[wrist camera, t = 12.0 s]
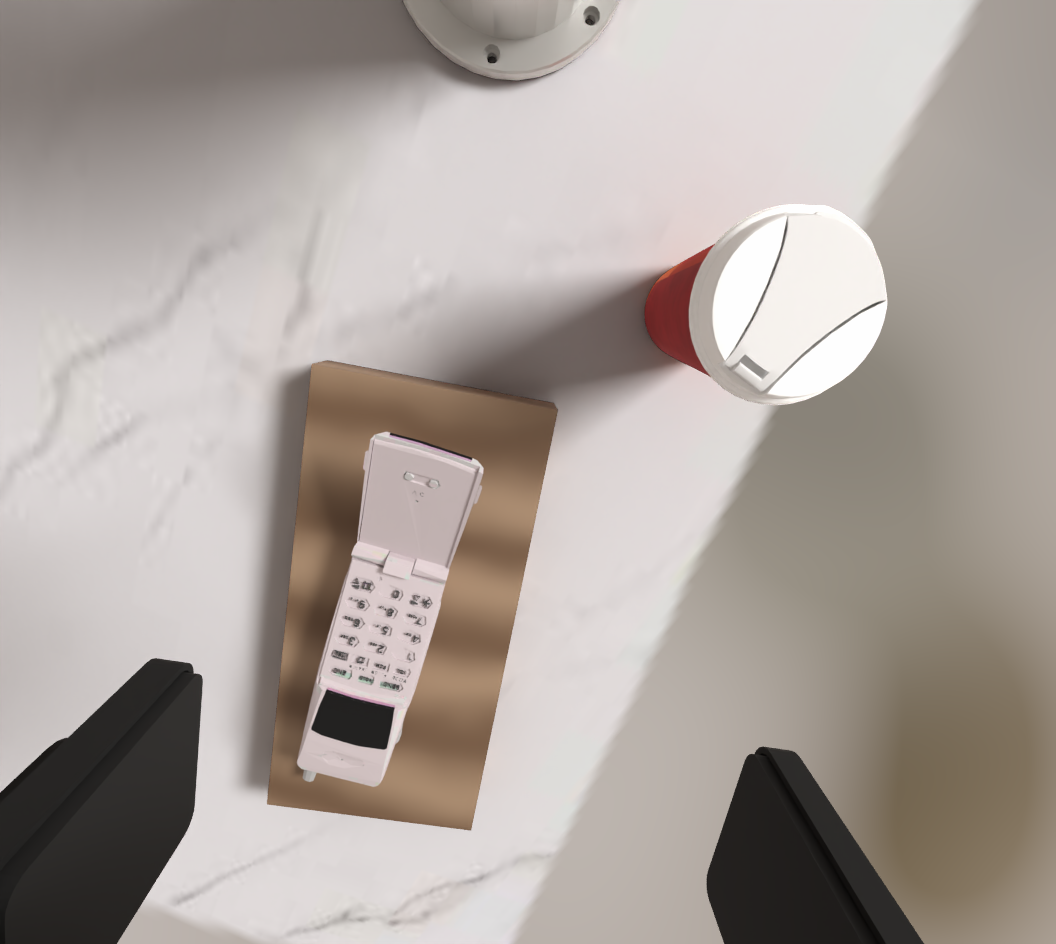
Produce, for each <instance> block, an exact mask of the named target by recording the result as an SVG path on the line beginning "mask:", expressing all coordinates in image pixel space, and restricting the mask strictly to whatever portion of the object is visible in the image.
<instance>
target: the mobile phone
mask: <svg viewBox="0 0 1056 944" xmlns="http://www.w3.org/2000/svg"><path fill="white" fill-rule="evenodd" d="M363 469H364V470H365V475H364V484H363V493H362V502H361V511H360V520H359V529H358V538H357V543H356V545H355V546H354V548H353V551H352V554H351V556H352V559H351V563H350V566H349V569H348V572H347V575H346V576H345V579H344V583H343V586H342V589H341V593H340V596H339V599H338V603H337V606H336V609H335V613H334V616H333V620H332V623H331V626H330V630H329V633H328V637H327V640H326V644H325V647H324V650H323V654H322V657H321V661H320V664H319V668H318V672H317V676H316V680H315V684H314V688H313V693H312V697H311V701H310V705H309V710H308V715H307V719H306V723H305V727H304V731H303V737H302V742H301V746H300V750H299V754H298V759H297V764H298V766H299V767H300V768H301V769H304V773H303V779H304V780H305V781H308V782H311V781H313V780H314V778H315V775H316V773H320V774H324V775H328V776H332V777H336V778H340V779H344V780H348V781H352V782H356V783H360V784H364V785H368V786H372V787H375V786H378V785H379V784H380V783H381V781H382V780H383V777H384V775H385V772H386V770H387V767H388V764H389V761H390V758H391V755H392V752H393V749H394V746H395V744H396V743H398V741H399V740H400V737H401V734H402V727H403V720H404V718H405V715H406V712H407V709H408V707H409V705H410V703H411V700H412V697H413V695H414V692H415V689H416V686H417V683H418V679H419V676H420V673H421V669H422V666H423V663H424V660H425V656H426V653H427V650H428V647H429V643H430V640H431V637H432V633H433V630H434V627H435V623H436V620H437V616H438V613H439V610H440V606H441V598H442V594H443V591H444V587H445V583H446V580H447V577H448V573H449V568H450V565H451V562H452V560H453V557H454V554H455V552H456V549H457V546H458V544H459V541H460V538H461V536H462V533H463V530H464V528H465V525H466V522H467V519H468V517H469V514H470V511H471V509H472V507H473V504H476V503H477V502H478V499H479V496H480V493H481V490H482V486H481V485H480V482H481V479H482V476H483V469H484V468H483V467H482V465H481V464H480V463H479V462H478V461H477V460H475V459H473V458H472V457H469V456H466V455H463V454H460V453H457V452H454V451H451V450H448V449H445V448H442V447H439V446H436V445H433V444H430V443H427V442H424V441H420V440H416V439H413V438H409V437H405V436H401V435H397V434H394V433H390V432H383V433H379V434H376V435H374V436H373V437H372V438H371V439H370V445H369V451H366V452H365V457H364V465H363ZM479 485H480V486H479ZM478 488H479V489H478ZM477 491H478V492H477ZM476 494H477V495H476ZM361 524H362V526H361ZM360 527H361V532H360ZM359 534H360V539H359ZM358 540H359V541H358Z"/></svg>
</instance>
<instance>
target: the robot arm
mask: <svg viewBox="0 0 1056 944" xmlns="http://www.w3.org/2000/svg"><path fill="white" fill-rule="evenodd" d="M619 2H620V0H403V3H404V5H405V7H406V8H407V10H408V12H409V14H410V15H411V17H412V19H413V20H414V22H415V24H416V25H417V27H418V28H419V30H420V31H421V32H422V33H423V34H424V35H425V37H426V38H427V39H428V40H429V41H430V42H431V44H432V45H433V46H434V47H435V48H436V49H438V50H439V51H440V52H441V53H443V54H444V55H445V56H446V57H448V58H449V59H450V60H451V61H453V62H454V63H456V64H458V65H460V66H462V67H464V68H466V69H468V70H469V71H471V72H473V73H477V74H480V75H484V76H487V77H490V78H494V79H505V80H523V79H530V78H536V77H541V76H543V75H546V74H548V73H551V72H554V71H556V70H559V69H561V68H563V67H564V66H566V65H567V64H569V63H570V62H572V61H573V60H575V59H577V58H578V57H580V56H581V55H582V54H583V53H584V52H585V51H586V50H587V49H588V48H589V47H590V46H591V45H592V44H593V43H594V42H595V41H596V40H597V39H598V37H599V36H600V35H601V33H602V32H603V30H604V29H605V28H606V26H607V25H608V23H609V22H610V21H611V19H612V17H613V14H614V12H615V10H616V8H617V6H618V4H619ZM587 19H591V20H592V21H593V22H594V25H591V26H590V25H588V24H586V23H585V21H586V20H587ZM490 56H494V57H495V58H496V59H497V61H496V63H491V64H490V63H489V62H488V61H487V60H488V58H489V57H490ZM202 684H203V681H202V676H201V675H200V674H194V673H193V667H192V665H191V664H190V663H184V662H177V661H170V660H163V659H157V658H155V659H151V660H150V661H148V662H147V663H146V664H145V665H144V666H143V667H142V668H141V669H140V670H139V671H137V672H136V673H135V674H134V675H133V676H132V677H131V678H130V679H129V680H128V681H127V682H126V683H125V684H124V685H123V686H122V687H121V688H120V689H119V690H118V691H117V692H116V693H114V694H113V695H112V696H111V697H110V698H109V699H108V700H107V701H106V702H105V703H104V704H103V705H102V706H101V707H100V708H99V709H98V710H97V711H96V712H95V713H94V714H92V715H91V716H90V717H89V718H88V719H87V720H86V721H85V722H84V723H83V724H82V725H81V726H80V727H79V728H78V729H77V730H76V731H75V732H74V733H73V734H72V735H71V736H69V737H68V738H64V739H61V740H59V741H57V742H55V743H54V744H53V745H51V746H50V747H49V748H47V749H46V750H45V751H44V752H43V753H42V754H41V755H40V756H39V757H38V758H37V759H36V760H35V761H34V762H32V763H31V764H30V765H29V766H28V767H27V768H26V769H25V770H24V771H23V772H22V773H21V774H20V775H19V776H17V777H16V778H15V779H14V780H13V781H12V782H11V783H10V784H9V785H8V786H7V787H6V788H5V789H4V790H3V791H1V792H0V944H117V942H118V941H119V939H120V938H121V936H122V934H123V933H124V931H125V930H126V928H127V926H128V925H129V923H130V922H131V920H132V918H133V917H134V915H135V914H136V912H137V910H138V909H139V907H140V906H141V904H142V902H143V901H144V899H145V898H146V896H147V894H148V893H149V891H150V890H151V888H152V886H153V885H154V883H155V882H156V880H157V878H158V877H159V875H160V874H161V872H162V870H163V869H164V867H165V866H166V864H167V862H168V861H169V859H170V858H171V856H172V854H173V853H174V851H175V850H176V848H177V846H178V845H179V843H180V842H181V840H182V838H183V837H184V835H185V833H186V831H187V829H188V827H189V825H190V822H191V819H192V816H193V812H194V806H195V791H196V776H197V760H198V745H199V730H200V715H201V699H202ZM707 893H708V897H709V901H710V903H711V907H712V909H713V912H714V915H715V918H716V921H717V924H718V927H719V930H720V933H721V935H722V938H723V941H724V944H924V943H923V941H922V940H921V939H920V937H919V936H918V934H917V932H916V931H915V929H914V928H913V926H912V925H911V923H910V922H909V920H908V919H907V917H906V916H905V915H904V913H903V911H902V910H901V908H900V907H899V905H898V904H897V903H896V901H895V899H894V898H893V897H892V895H891V893H890V892H889V891H888V889H887V887H886V886H885V885H884V883H883V881H882V880H881V878H880V877H879V876H878V874H877V873H876V871H875V869H874V868H873V866H872V865H871V864H870V862H869V860H868V859H867V858H866V856H865V854H864V853H863V851H862V850H861V848H860V847H859V845H858V844H857V843H856V841H855V840H854V838H853V836H852V835H851V833H850V832H849V831H848V829H847V828H846V826H845V824H844V823H843V821H842V820H841V819H840V817H839V815H838V814H837V813H836V811H835V809H834V808H833V806H832V805H831V804H830V802H829V800H828V799H827V797H826V796H825V794H824V793H823V792H822V790H821V788H820V787H819V785H818V784H817V782H816V781H815V779H814V778H813V776H812V775H811V773H810V772H809V770H808V769H807V767H806V766H805V764H804V763H803V761H802V760H801V758H800V757H799V756H798V755H797V754H796V753H795V752H793V751H789V750H782V749H776V748H769V747H760V748H758V749H757V750H756V752H755V754H750V755H748V756H747V758H746V760H745V762H744V765H743V768H742V771H741V774H740V777H739V780H738V783H737V786H736V789H735V792H734V795H733V798H732V801H731V804H730V807H729V810H728V813H727V816H726V819H725V822H724V825H723V828H722V831H721V834H720V837H719V840H718V843H717V846H716V849H715V852H714V855H713V858H712V861H711V864H710V867H709V870H708V874H707Z"/></svg>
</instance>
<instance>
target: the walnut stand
mask: <svg viewBox="0 0 1056 944" xmlns="http://www.w3.org/2000/svg"><path fill="white" fill-rule="evenodd" d="M557 412H558V410H557V408H556V406H555V404H554V403H551V402H545V401H540V400H535V399H529V398H524V397H519V396H514V395H508V394H503V393H498V392H492V391H487V390H482V389H477V388H471V387H466V386H461V385H455V384H450V383H445V382H440V381H434V380H429V379H424V378H418V377H413V376H408V375H402V374H397V373H392V372H387V371H381V370H376V369H371V368H365V367H360V366H355V365H350V364H344V363H339V362H334V361H328V360H327V361H323V362H318V363H314V364H312V366H311V376H310V386H309V396H308V405H307V415H306V425H305V435H304V445H303V455H302V464H301V474H300V484H299V494H298V504H297V513H296V523H295V533H294V543H293V553H292V563H291V572H290V582H289V592H288V602H287V612H286V622H285V631H284V641H283V651H282V661H281V671H280V681H279V690H278V700H277V710H276V720H275V730H274V740H273V749H272V759H271V769H270V779H269V789H268V799H267V804H269V805H277V806H284V807H292V808H300V809H308V810H316V811H323V812H331V813H339V814H347V815H355V816H362V817H370V818H378V819H386V820H394V821H401V822H409V823H417V824H425V825H433V826H440V827H448V828H456V829H464V830H471V828H472V823H473V818H474V813H475V808H476V803H477V799H478V794H479V789H480V784H481V779H482V774H483V770H484V765H485V760H486V755H487V750H488V745H489V741H490V736H491V731H492V726H493V721H494V716H495V712H496V707H497V702H498V697H499V692H500V687H501V683H502V678H503V673H504V668H505V663H506V658H507V654H508V649H509V644H510V639H511V634H512V629H513V625H514V620H515V615H516V610H517V605H518V600H519V595H520V591H521V586H522V581H523V576H524V571H525V566H526V562H527V557H528V552H529V547H530V542H531V537H532V533H533V528H534V523H535V518H536V513H537V508H538V504H539V499H540V494H541V489H542V484H543V479H544V475H545V470H546V465H547V460H548V455H549V450H550V446H551V441H552V436H553V431H554V426H555V421H556V417H557ZM383 432H390V433H394V434H397V435H401V436H405V437H409V438H413V439H416V440H420V441H424V442H427V443H430V444H433V445H436V446H439V447H442V448H445V449H448V450H451V451H454V452H457V453H460V454H463V455H466V456H469V457H472V458H473V459H475V460H477V461H478V462H479V463H480V464H481V465H482V467H483V468H484V469H483V476H482V479H481V482H480V485H481V486H482V490H481V493H480V496H479V499H478V502H477V503H476V504H473V507H472V509H471V511H470V514H469V517H468V519H467V522H466V525H465V528H464V530H463V533H462V536H461V538H460V541H459V544H458V546H457V549H456V552H455V554H454V557H453V560H452V562H451V565H450V568H449V573H448V577H447V580H446V583H445V587H444V591H443V594H442V598H441V606H440V610H439V613H438V616H437V620H436V623H435V627H434V630H433V633H432V637H431V640H430V643H429V647H428V650H427V653H426V656H425V660H424V663H423V666H422V669H421V673H420V676H419V679H418V683H417V686H416V689H415V692H414V695H413V697H412V700H411V703H410V705H409V707H408V709H407V712H406V715H405V718H404V720H403V727H402V734H401V737H400V740H399V741H398V743H396V744H395V746H394V749H393V752H392V755H391V758H390V761H389V764H388V767H387V770H386V772H385V775H384V777H383V780H382V781H381V783H380V784H379V785H378V786H375V787H372V786H368V785H364V784H360V783H356V782H352V781H348V780H344V779H340V778H336V777H332V776H328V775H324V774H320V773H316V775H315V778H314V780H313V781H311V782H308V781H305V780H304V779H303V773H304V769H301V768H300V767H299V766H298V764H297V759H298V754H299V750H300V746H301V742H302V737H303V731H304V727H305V723H306V719H307V715H308V710H309V705H310V701H311V697H312V693H313V688H314V684H315V680H316V676H317V672H318V668H319V664H320V661H321V657H322V654H323V650H324V647H325V644H326V640H327V637H328V633H329V630H330V626H331V623H332V620H333V616H334V613H335V609H336V606H337V603H338V599H339V596H340V593H341V589H342V586H343V583H344V579H345V576H346V575H347V572H348V569H349V566H350V563H351V559H352V556H351V554H352V551H353V548H354V546H355V545H356V543H357V538H358V529H359V520H360V511H361V502H362V493H363V484H364V475H365V470H364V469H363V465H364V457H365V452H366V451H369V445H370V439H371V438H372V437H373V436H374V435H376V434H379V433H383ZM480 485H479V486H480ZM478 489H479V488H478ZM477 492H478V491H477ZM476 495H477V494H476ZM361 526H362V524H361ZM360 532H361V527H360ZM359 539H360V534H359ZM358 541H359V540H358Z"/></svg>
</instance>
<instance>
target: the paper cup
mask: <svg viewBox="0 0 1056 944" xmlns="http://www.w3.org/2000/svg"><path fill="white" fill-rule="evenodd" d="M886 309H887V294H886V286H885V280H884V275H883V270H882V266H881V263H880V261H879V258H878V256H877V254H876V252H875V248H874V246H873V244H872V241H871V240H870V238H869V237H868V235H867V234H866V233H865V232H864V231H863V230H862V229H861V228H860V227H859V226H858V225H857V224H856V223H855V222H854V221H853V220H851V219H850V218H848V217H847V216H845V215H844V214H843V213H841V212H839V211H837V210H835V209H833V208H831V207H829V206H819V205H801V204H790V205H780V206H775V207H772V208H768V209H764V210H762V211H759V212H757V213H755V214H753V215H750V216H748V217H747V218H745V219H743V220H742V221H740V222H739V223H737V224H736V225H734V226H733V227H732V228H731V229H730V230H728V231H727V232H726V233H725V234H724V235H723V236H722V237H721V238H720V239H719V240H718V241H717V243H716V244H714V245H712V246H710V247H708V248H706V249H705V250H703V251H701V252H699V253H697V254H696V255H694V256H692V257H690V258H688V259H687V260H685V261H683V262H681V263H680V264H678V265H676V266H675V267H673V268H672V269H670V270H669V271H667V272H666V273H665V274H664V275H662V276H661V277H660V278H659V279H658V280H657V282H656V283H655V284H654V286H653V287H652V289H651V291H650V293H649V295H648V297H647V301H646V305H645V324H646V328H647V331H648V333H649V335H650V337H651V339H652V341H653V342H654V343H655V344H656V346H657V347H658V348H660V349H661V350H662V351H663V352H665V353H666V354H668V355H669V356H671V357H673V358H675V359H677V360H679V361H681V362H683V363H685V364H687V365H689V366H691V367H693V368H695V369H697V370H699V371H701V372H703V373H704V374H706V375H708V376H710V377H711V378H712V379H713V380H714V381H715V382H717V383H718V384H719V385H720V386H721V387H722V388H723V389H725V390H727V391H728V392H730V393H731V394H733V395H735V396H737V397H739V398H742V399H744V400H747V401H750V402H754V403H759V404H766V405H783V404H792V403H795V402H799V401H803V400H806V399H809V398H811V397H813V396H816V395H818V394H820V393H822V392H823V391H825V390H826V389H828V388H830V387H832V386H833V385H835V384H837V383H838V382H840V381H842V380H843V379H844V378H845V377H847V376H848V375H849V374H850V373H852V372H853V371H854V370H855V369H856V368H857V366H859V364H860V363H861V362H862V361H863V360H864V359H865V357H866V356H867V354H868V353H869V352H870V350H871V349H872V347H873V345H874V343H875V341H876V339H877V338H878V336H879V333H880V331H881V328H882V325H883V322H884V318H885V313H886Z"/></svg>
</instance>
